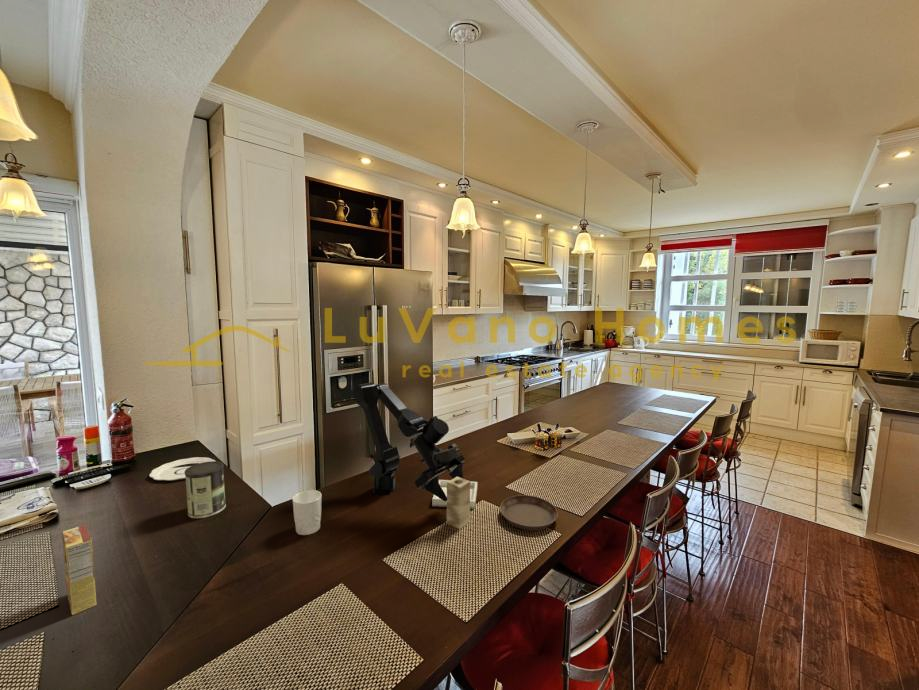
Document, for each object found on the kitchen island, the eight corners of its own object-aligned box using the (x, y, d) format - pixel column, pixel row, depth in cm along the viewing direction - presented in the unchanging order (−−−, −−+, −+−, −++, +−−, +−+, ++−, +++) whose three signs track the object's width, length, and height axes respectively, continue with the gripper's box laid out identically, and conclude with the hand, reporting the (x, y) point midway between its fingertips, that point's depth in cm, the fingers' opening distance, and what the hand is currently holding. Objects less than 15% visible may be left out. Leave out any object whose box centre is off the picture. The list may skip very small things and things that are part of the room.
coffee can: (220, 498, 131) (217, 458, 129) (230, 509, 124) (227, 467, 122) (183, 510, 123) (180, 467, 122) (192, 522, 116) (189, 477, 115)
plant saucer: (558, 538, 111) (559, 528, 110) (497, 530, 114) (497, 521, 114) (556, 507, 128) (556, 498, 127) (502, 501, 131) (502, 492, 131)
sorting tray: (432, 506, 127) (432, 498, 127) (438, 486, 141) (438, 479, 141) (474, 508, 126) (474, 501, 125) (477, 488, 139) (477, 481, 139)
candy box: (66, 595, 87) (60, 531, 85) (92, 585, 90) (86, 523, 88) (71, 616, 81) (64, 548, 80) (98, 604, 84) (92, 538, 83)
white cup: (328, 524, 116) (327, 492, 115) (310, 539, 109) (308, 505, 108) (306, 519, 119) (305, 488, 118) (287, 533, 111) (286, 500, 110)
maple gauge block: (446, 523, 117) (446, 482, 116) (456, 516, 121) (457, 476, 120) (459, 529, 114) (460, 487, 113) (469, 521, 118) (470, 481, 117)
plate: (225, 468, 155) (225, 464, 155) (164, 489, 137) (164, 484, 137) (200, 457, 166) (200, 453, 166) (140, 474, 148) (140, 470, 148)
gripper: (421, 446, 111) (451, 494, 106) (460, 429, 126) (488, 471, 121) (402, 465, 117) (430, 512, 111) (442, 447, 132) (468, 488, 126)
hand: (456, 494), depth 117 cm, fingers open, 9 cm apart
